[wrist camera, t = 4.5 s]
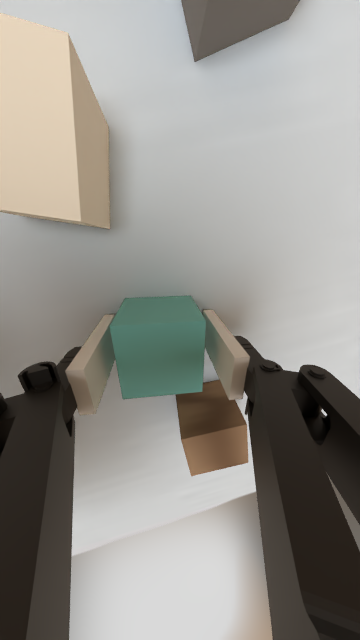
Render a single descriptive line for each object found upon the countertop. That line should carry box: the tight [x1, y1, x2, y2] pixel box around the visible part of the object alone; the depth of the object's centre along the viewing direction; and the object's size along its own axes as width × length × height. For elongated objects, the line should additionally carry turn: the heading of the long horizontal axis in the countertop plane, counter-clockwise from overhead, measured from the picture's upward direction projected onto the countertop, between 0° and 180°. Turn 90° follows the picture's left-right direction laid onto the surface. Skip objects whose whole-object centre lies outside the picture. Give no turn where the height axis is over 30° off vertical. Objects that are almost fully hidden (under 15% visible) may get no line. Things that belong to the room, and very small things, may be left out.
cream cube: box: [0, 13, 110, 229], centre depth 8 cm, size 5×5×5 cm
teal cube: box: [110, 296, 206, 399], centre depth 13 cm, size 5×5×5 cm
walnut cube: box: [176, 380, 248, 476], centre depth 17 cm, size 5×5×5 cm
